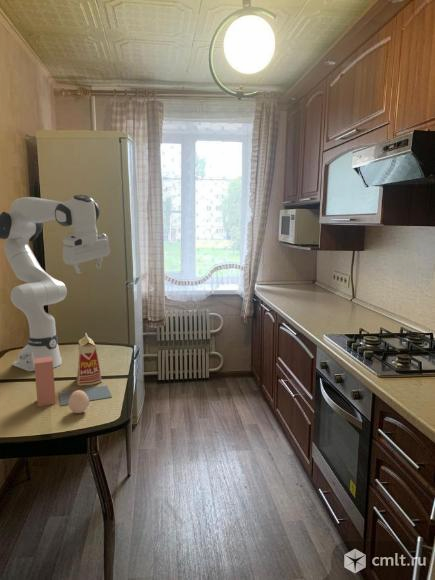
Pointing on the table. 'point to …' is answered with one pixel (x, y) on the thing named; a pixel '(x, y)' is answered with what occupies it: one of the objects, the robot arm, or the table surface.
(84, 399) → the egg
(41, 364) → the block
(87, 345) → the milk carton
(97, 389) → the mat
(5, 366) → the table surface
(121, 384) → the table surface
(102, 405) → the table surface
